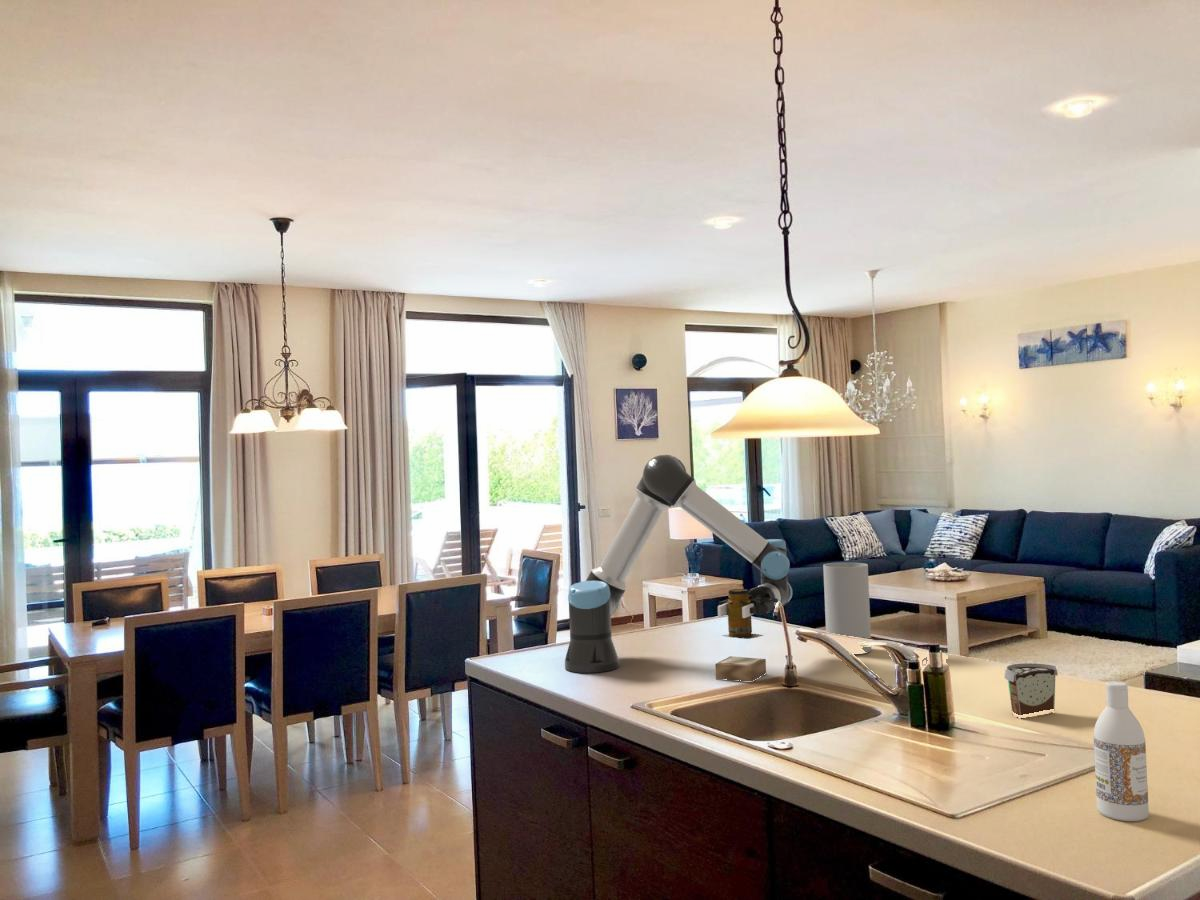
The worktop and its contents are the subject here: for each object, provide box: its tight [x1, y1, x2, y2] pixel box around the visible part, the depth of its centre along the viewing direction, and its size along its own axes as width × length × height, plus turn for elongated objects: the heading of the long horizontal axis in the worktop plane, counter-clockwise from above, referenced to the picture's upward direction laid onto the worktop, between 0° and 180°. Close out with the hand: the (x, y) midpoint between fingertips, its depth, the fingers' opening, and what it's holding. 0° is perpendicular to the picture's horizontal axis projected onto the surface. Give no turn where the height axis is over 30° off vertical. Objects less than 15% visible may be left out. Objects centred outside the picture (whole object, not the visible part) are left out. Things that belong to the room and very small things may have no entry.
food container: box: [1003, 662, 1059, 715], centre depth 200 cm, size 12×6×10 cm, turn 111°
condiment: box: [721, 588, 764, 640], centre depth 243 cm, size 7×8×12 cm
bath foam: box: [1093, 680, 1150, 822], centre depth 143 cm, size 7×7×20 cm
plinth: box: [714, 656, 767, 682], centre depth 244 cm, size 10×10×4 cm
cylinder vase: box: [822, 562, 872, 654], centre depth 271 cm, size 12×12×25 cm
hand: (731, 612), depth 239 cm, fingers closed on condiment, 6 cm apart
